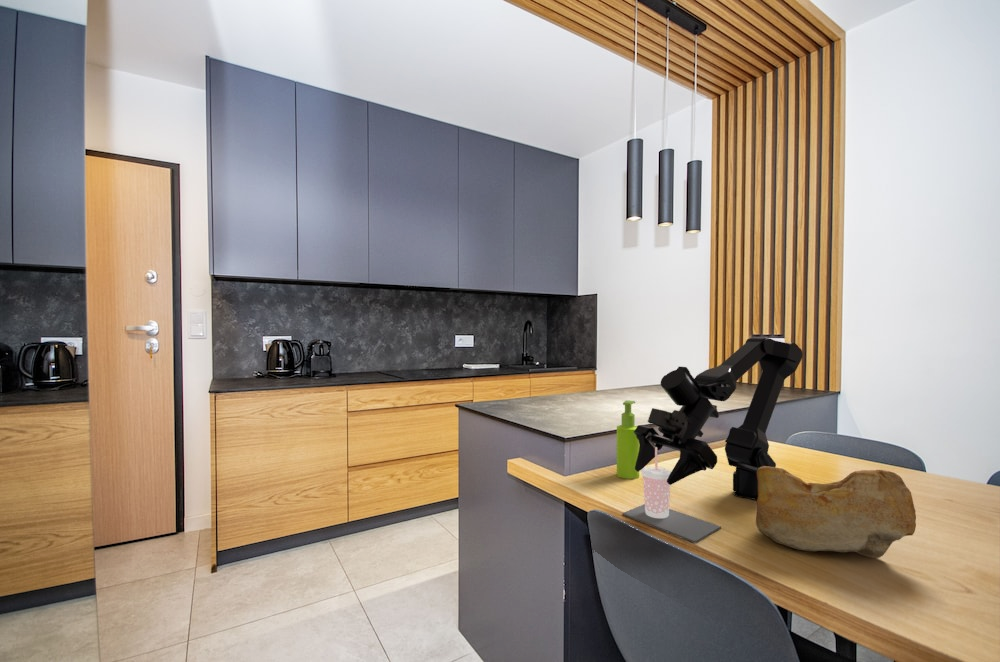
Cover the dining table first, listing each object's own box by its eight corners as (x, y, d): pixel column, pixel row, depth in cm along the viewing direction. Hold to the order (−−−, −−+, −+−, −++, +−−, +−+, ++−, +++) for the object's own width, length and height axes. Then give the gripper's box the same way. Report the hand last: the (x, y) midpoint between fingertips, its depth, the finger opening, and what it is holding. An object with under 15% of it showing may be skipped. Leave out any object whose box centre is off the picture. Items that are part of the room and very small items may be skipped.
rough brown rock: (890, 540, 85) (884, 460, 86) (928, 575, 70) (921, 477, 71) (750, 521, 94) (747, 450, 96) (758, 549, 80) (754, 464, 81)
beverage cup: (649, 506, 98) (649, 442, 98) (677, 514, 93) (676, 447, 94) (636, 514, 93) (635, 447, 94) (664, 522, 89) (663, 452, 89)
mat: (721, 528, 87) (721, 526, 87) (695, 543, 81) (695, 541, 81) (649, 503, 100) (649, 501, 100) (622, 514, 94) (622, 513, 94)
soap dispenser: (642, 473, 122) (642, 400, 122) (635, 480, 116) (635, 404, 116) (621, 469, 125) (621, 398, 125) (613, 476, 119) (613, 402, 119)
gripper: (640, 390, 103) (601, 442, 99) (707, 401, 86) (664, 464, 82) (665, 420, 107) (629, 472, 102) (735, 437, 90) (695, 500, 85)
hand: (651, 476), depth 93 cm, fingers open, 9 cm apart
